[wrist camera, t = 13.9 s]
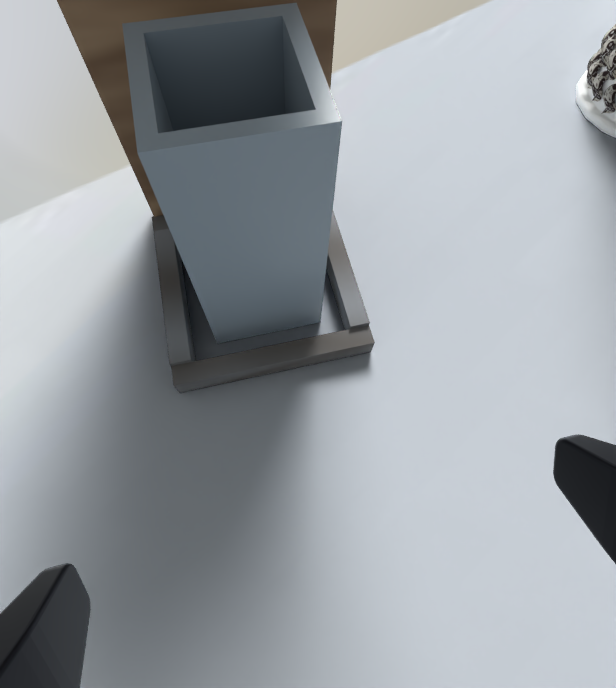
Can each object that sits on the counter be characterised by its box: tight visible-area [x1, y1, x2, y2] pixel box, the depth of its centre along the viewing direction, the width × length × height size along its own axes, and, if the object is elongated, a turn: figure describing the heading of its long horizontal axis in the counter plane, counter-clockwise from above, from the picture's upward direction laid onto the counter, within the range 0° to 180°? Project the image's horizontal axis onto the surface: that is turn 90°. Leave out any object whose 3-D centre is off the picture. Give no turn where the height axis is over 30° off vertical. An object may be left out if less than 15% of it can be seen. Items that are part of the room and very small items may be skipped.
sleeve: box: [122, 3, 342, 344], centre depth 19 cm, size 6×6×12 cm
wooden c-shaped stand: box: [57, 0, 374, 393], centre depth 15 cm, size 12×10×22 cm
